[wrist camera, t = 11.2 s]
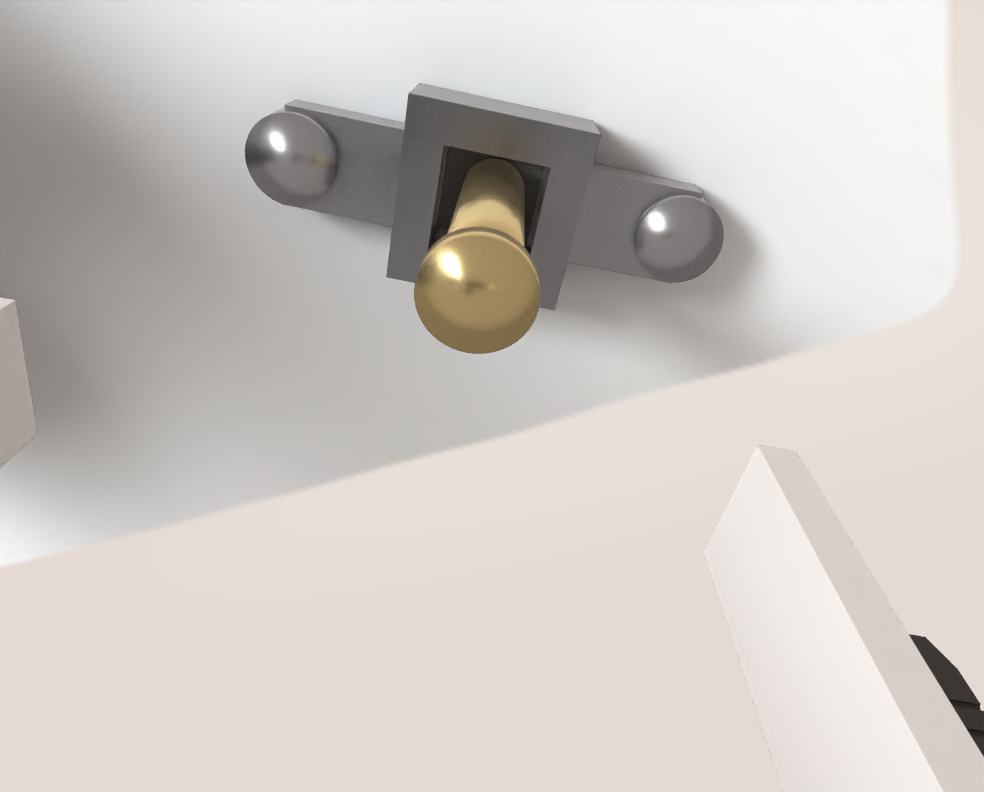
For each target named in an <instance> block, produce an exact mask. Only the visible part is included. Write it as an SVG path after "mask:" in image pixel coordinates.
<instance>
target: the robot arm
mask: <svg viewBox="0 0 984 792" xmlns="http://www.w3.org/2000/svg"><path fill="white" fill-rule="evenodd" d="M37 434H38V433H37V427H36V421H35V415H34V409H33V403H32V397H31V391H30V385H29V379H28V374H27V368H26V362H25V356H24V350H23V344H22V338H21V332H20V326H19V320H18V314H17V308H16V302H15V300H11V299H6V298H1V297H0V468H1V467H2V466H3V465H4V464H5V463H6V462H7V461H8V460H10V459H11V458H12V457H13V456H14V455H15V454H16V453H17V452H18V451H19V450H20V449H21V448H22V447H24V446H25V445H26V444H27V443H28V442H29V441H30V440H31V439H32V438H33V437H34V436H35V435H37ZM703 555H704V557H705V560H706V563H707V566H708V569H709V572H710V575H711V578H712V581H713V584H714V587H715V590H716V593H717V596H718V599H719V602H720V605H721V608H722V611H723V614H724V617H725V620H726V623H727V626H728V629H729V632H730V635H731V638H732V641H733V644H734V647H735V650H736V653H737V656H738V659H739V662H740V665H741V668H742V671H743V674H744V677H745V680H746V683H747V686H748V689H749V692H750V695H751V698H752V701H753V704H754V707H755V710H756V713H757V716H758V719H759V722H760V725H761V728H762V731H763V734H764V737H765V740H766V743H767V746H768V749H769V752H770V755H771V758H772V760H773V763H774V766H775V769H776V772H777V775H778V778H779V781H780V784H781V787H782V790H783V792H984V711H981V710H980V703H979V701H978V700H977V698H976V697H975V695H974V693H973V692H972V691H971V689H970V688H969V686H968V684H967V683H966V681H965V680H964V678H963V677H962V675H961V674H960V672H959V671H958V669H957V668H956V667H955V666H954V665H953V664H952V663H951V662H950V661H949V660H948V659H947V658H946V657H945V656H944V655H943V654H942V653H941V652H940V651H939V650H938V649H937V648H936V647H935V646H934V645H933V644H932V643H931V642H930V641H929V640H927V638H926V637H921V636H916V635H910V634H908V633H907V631H906V629H905V628H904V626H903V625H902V623H901V621H900V620H899V618H898V616H897V615H896V613H895V612H894V610H893V608H892V607H891V605H890V603H889V602H888V600H887V598H886V597H885V595H884V594H883V592H882V590H881V589H880V587H879V586H878V584H877V582H876V580H875V579H874V577H873V576H872V574H871V572H870V571H869V569H868V568H867V566H866V564H865V562H864V561H863V559H862V558H861V556H860V554H859V553H858V551H857V550H856V548H855V546H854V545H853V543H852V541H851V540H850V538H849V536H848V535H847V533H846V531H845V530H844V528H843V527H842V525H841V523H840V522H839V520H838V519H837V517H836V515H835V514H834V512H833V511H832V509H831V507H830V505H829V504H828V502H827V500H826V499H825V497H824V496H823V494H822V492H821V491H820V489H819V488H818V486H817V484H816V482H815V481H814V480H813V478H812V476H811V475H810V473H809V471H808V470H807V468H806V466H805V465H804V463H803V461H802V460H801V458H800V456H799V455H798V453H797V452H793V451H788V450H783V449H777V448H772V447H767V446H762V445H757V447H756V449H755V451H754V453H753V455H752V457H751V459H750V461H749V463H748V465H747V467H746V469H745V471H744V473H743V475H742V477H741V479H740V481H739V482H738V485H737V486H736V488H735V490H734V493H733V494H732V496H731V498H730V501H729V502H728V504H727V507H726V508H725V510H724V513H723V514H722V516H721V518H720V520H719V522H718V525H717V526H716V528H715V530H714V532H713V534H712V536H711V538H710V540H709V542H708V544H707V546H706V548H705V550H704V552H703Z"/></svg>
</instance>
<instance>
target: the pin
mask: <svg viewBox="0 0 984 792" xmlns="http://www.w3.org/2000/svg"><path fill="white" fill-rule="evenodd" d="M524 232H525V185H524V181H523V178H522V176H521V174H520V172H519V171H518V170H517V169H516V168H515V167H514V166H513V165H512V164H510V163H509V162H507V161H504V160H501V159H486V160H483V161H480V162H479V163H477V164H475V165H474V166H473V167H472V168H471V169H470V170H469V172H468V173H467V175H466V177H465V179H464V182H463V186H462V189H461V192H460V195H459V198H458V201H457V205H456V208H455V211H454V214H453V217H452V220H451V224H450V227H449V230H448V233H447V235H445V236H443V237H442V238H441V239H439V240H438V241H437V242H436V243H435V244H434V245H433V246H432V247H431V248H430V250H429V251H428V252H427V254H426V256H425V257H424V259H423V262H422V264H421V267H420V270H419V272H418V275H417V278H416V282H415V289H414V298H415V305H416V309H417V312H418V315H419V317H420V319H421V321H422V323H423V324H424V326H425V327H426V328H427V330H428V331H429V332H430V333H431V334H432V335H433V336H434V337H435V338H436V339H438V340H439V341H440V342H442V343H443V344H445V345H447V346H449V347H451V348H453V349H456V350H458V351H462V352H466V353H475V354H483V353H491V352H495V351H499V350H502V349H504V348H506V347H508V346H510V345H512V344H514V343H515V342H517V341H518V340H519V339H520V338H521V337H523V336H524V335H525V333H526V332H527V331H528V330H529V328H530V327H531V325H532V324H533V322H534V320H535V318H536V315H537V312H538V308H539V301H540V290H539V277H538V272H537V268H536V266H535V263H534V261H533V259H532V257H531V255H530V254H529V253H528V251H527V250H526V249H525V247H524Z"/></svg>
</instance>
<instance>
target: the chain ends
mask: <svg viewBox="0 0 984 792" xmlns="http://www.w3.org/2000/svg"><path fill="white" fill-rule="evenodd" d="M600 136H601V134H600V132H599V130H598V128H597V127H596V125H595V123H594V121H592V120H587V119H583V118H578V117H573V116H569V115H564V114H560V113H555V112H550V111H546V110H541V109H537V108H532V107H527V106H523V105H518V104H514V103H509V102H504V101H500V100H495V99H491V98H486V97H481V96H477V95H472V94H468V93H463V92H458V91H454V90H449V89H445V88H440V87H435V86H431V85H426V84H422V83H419V84H418V85H417V86H416V87H415V88H414V89H413V90H412V91H410V92H409V95H408V103H407V111H406V120H405V123H403V122H398V121H393V120H389V119H384V118H379V117H374V116H370V115H365V114H360V113H356V112H351V111H346V110H342V109H337V108H332V107H328V106H323V105H318V104H313V103H309V102H304V101H299V100H294V101H291V102H289V103H287V104H285V108H283V109H281V110H279V111H277V112H275V113H273V114H271V115H269V116H267V117H265V118H263V119H261V120H260V121H259V122H258V123H257V124H255V126H254V127H253V128H252V130H251V131H250V133H249V135H248V138H247V141H246V146H245V158H246V164H247V167H248V170H249V173H250V175H251V177H252V179H253V180H254V182H255V183H256V185H257V186H258V187H259V188H260V189H261V190H262V191H263V192H264V193H265V194H266V195H267V196H269V197H270V198H272V199H273V200H275V201H277V202H280V203H281V204H284V205H289V206H294V207H299V208H304V209H309V210H314V211H319V212H324V213H329V214H334V215H339V216H344V217H349V218H354V219H358V220H363V221H368V222H373V223H378V224H383V225H388V226H393V227H392V235H391V243H390V251H389V260H388V268H387V276H386V277H389V278H394V279H399V280H404V281H409V282H414V283H415V282H416V278H417V275H418V272H419V270H420V267H421V264H422V262H423V259H424V257H425V256H426V254H427V252H428V251H429V250H430V248H431V247H432V246H433V245H434V244H435V243H436V242H437V241H438V240H439V239H441V238H442V237H443V236H445V235H447V233H448V230H449V229H445V228H440V227H436V225H437V218H438V212H439V205H440V199H441V192H442V186H443V179H444V173H445V167H446V160H447V154H448V147H449V146H451V147H455V148H460V149H465V150H469V151H474V152H479V153H484V154H488V155H493V156H498V157H503V158H507V159H512V160H517V161H521V162H526V163H531V164H536V165H540V166H545V167H544V171H543V176H542V180H541V184H540V189H539V193H538V197H537V202H536V206H535V211H534V215H533V219H532V224H531V228H530V232H529V237H528V241H527V245H524V247H525V249H526V250H527V251H528V253H529V254H530V255H531V257H532V259H533V261H534V263H535V266H536V268H537V272H538V277H539V290H540V301H539V307H541V308H546V309H551V310H555V306H556V303H557V299H558V295H559V291H560V287H561V284H562V280H563V276H564V272H565V269H566V265H567V262H571V263H576V264H581V265H586V266H591V267H596V268H601V269H605V270H610V271H615V272H620V273H625V274H630V275H635V276H640V277H645V278H650V279H655V280H660V281H665V282H670V283H672V282H683V281H687V280H690V279H693V278H695V277H697V276H699V275H700V274H702V273H703V272H704V271H706V270H707V269H708V268H709V267H710V266H711V265H712V264H713V262H714V261H715V260H716V258H717V256H718V255H719V252H720V250H721V247H722V243H723V227H722V223H721V220H720V218H719V216H718V215H717V213H716V212H715V211H714V210H713V208H712V207H711V206H710V205H709V204H708V203H707V202H706V201H705V199H704V198H703V197H702V195H703V193H702V192H701V190H700V189H699V188H698V187H697V186H696V185H694V184H689V183H684V182H680V181H675V180H670V179H666V178H661V177H656V176H651V175H647V174H642V173H637V172H633V171H628V170H623V169H619V168H614V167H609V166H605V165H600V164H595V163H594V159H595V155H596V151H597V147H598V144H599V140H600Z"/></svg>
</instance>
